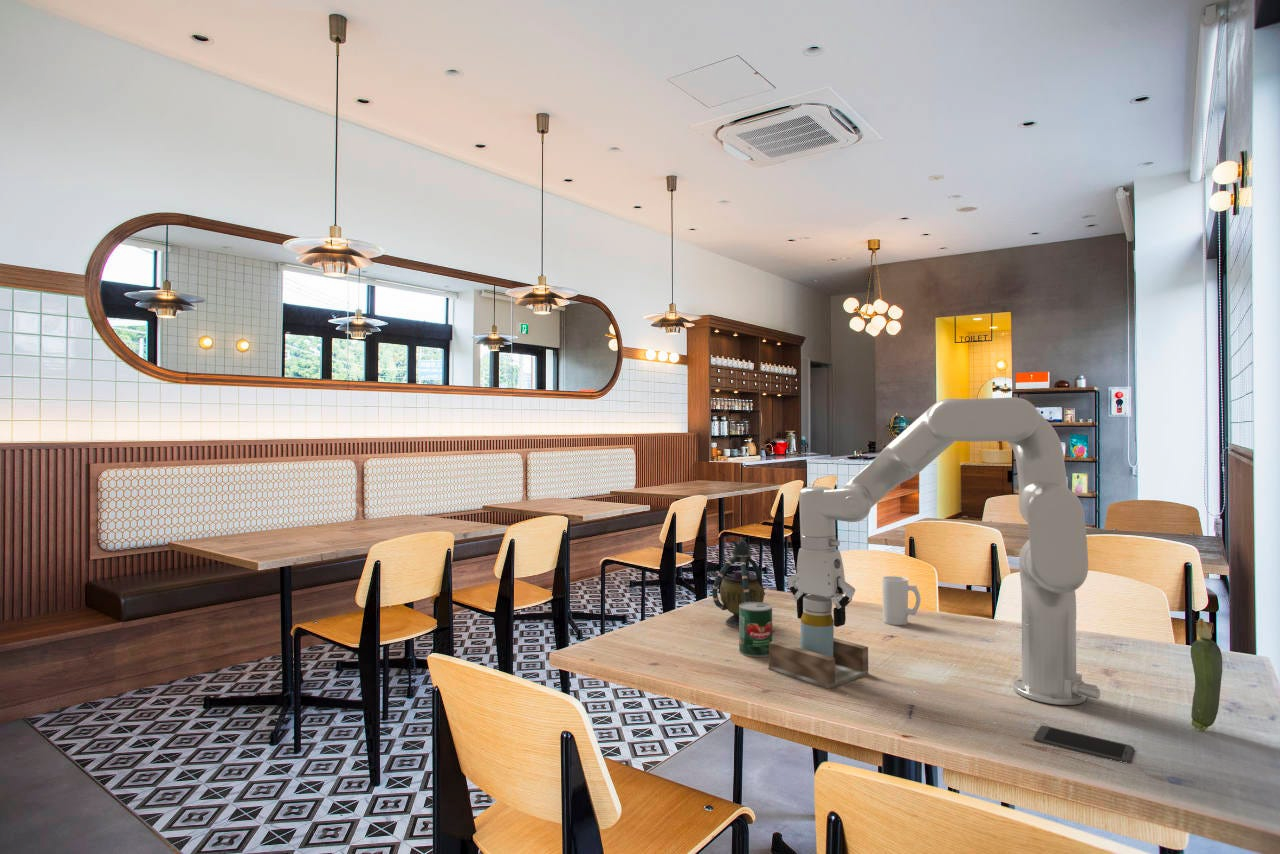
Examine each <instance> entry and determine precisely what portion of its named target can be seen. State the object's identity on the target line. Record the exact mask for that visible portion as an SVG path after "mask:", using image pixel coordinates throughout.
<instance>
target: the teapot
mask: <svg viewBox="0 0 1280 854" xmlns="http://www.w3.org/2000/svg"><path fill="white" fill-rule="evenodd" d="M730 542H731V543H733V544H734V548H733V550H732V552H731V553H732V557H730V558H729V559H728V560H727V561H726V562H725V564H724V565H723V566H722V568H721V569H720V570H719V572H718V573H717V576H716V577H715V580H714V583H713V585H712V589H711V595H712V599H713V603H714V605H715V606H716V607H717V608H719V609H721V610H722V611H726V610H727V611H728V612H729V613H730V614H733V615H731V616H729V617H728V619H726V620H725V621H724V622H725V625H726V626H727V627H730V628H734V629H739V605H740V604H742V603H745V602H762V603H764V599H765V596H766V592H765V588H764V584H763V577H762V572H761V571H760V567H759V565H758V564H757V563H756V561H755V560H753V559H752V558H751V557H752V551H751V548H750V546H749V544H748V543H747V542H746V541H745V539H743V538H741V539H740V540H738V541H737V542H736V541H735V540H731V541H730ZM735 563H740V570H736V571H734V573H729V568H730V567H731V566H732V565H733V564H735ZM746 563H750V564H751V565H752V567H753V569H754V571H755V574H751V573H750V572H749V571H748V570H747V564H746ZM721 580H722V581H721ZM719 585H720V586H719ZM718 589H719V595H720V600H721V601H720V600H719V595H718Z"/></svg>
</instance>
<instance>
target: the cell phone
mask: <svg viewBox="0 0 1280 854" xmlns="http://www.w3.org/2000/svg"><path fill="white" fill-rule="evenodd" d="M1032 741H1034V742H1037V743H1041V744H1045V745H1048V744H1049V746H1052V745H1053V746H1052V747H1056V746H1057V748H1060V749H1065V750H1068V751H1072V750H1073V751H1074V752H1078V753H1082V754H1084V755H1085V754H1086V755H1089V756H1093V755H1094V756H1093V757H1098V758H1101V759H1105V758H1106V759H1105V760H1109V759H1112V760H1111V761H1113V760H1116V761H1115V762H1117V761H1122V762H1127V763H1129V762H1130V761H1131V762H1132V760H1133V757H1132V756H1134V753H1135V749H1134V746H1133V745H1130V744H1126V743H1123V742H1117V741H1114V740H1109V739H1105V738H1100V737H1096V736H1093V735H1092V736H1091V735H1088V734H1087V735H1086V734H1083V733H1080V732H1079V733H1078V732H1073V731H1070V730H1065V729H1062V728H1056V727H1052V726H1047V725H1040V727H1039V728H1038V730H1037V731H1036V733H1035V734H1034V735H1033V738H1032ZM1073 751H1072V752H1073ZM1131 759H1132V760H1131ZM1122 762H1121V763H1122ZM1131 762H1130V763H1131ZM1127 763H1126V764H1127ZM1130 763H1129V764H1130Z"/></svg>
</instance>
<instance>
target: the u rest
mask: <svg viewBox="0 0 1280 854" xmlns="http://www.w3.org/2000/svg"><path fill="white" fill-rule="evenodd" d="M768 669H769V670H772V671H775V672H777V673H780V674H784V675H787V676H789V677H792V678H796V679H798V680H802V681H804V682H808V683H811V684H813V685H817V686H820V687H822V688H826V689H832V688H835V687H837V686H841V685H842V684H846V683H848V682H850V681H853V680H856V679H858V678H860V677H864V676H866V675H868V674H869V646H866V645H864V644H863V645H862V644H858V643H854V642H851V641H847V640H844V639H840V638H836V637H833V658H832V657H828V656H825V655H822V654H818V653H815V652H811V651H808V650H804V649H801V648H800V647H797V646H794V645H790V644H787V643H783V642H780V641H777V640H772V642H769V656H768Z"/></svg>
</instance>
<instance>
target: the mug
mask: <svg viewBox="0 0 1280 854" xmlns="http://www.w3.org/2000/svg"><path fill="white" fill-rule="evenodd" d="M881 580H882V581H881V583H882V584H881V585H882V586H881V587H882V589H881V590H882V592H881V593H882V619H883V623H884V624H888V625H890V626H906V625H907V624H908V621H909V620H908V617H909V615H912V616H914V615H916V614H917V612H918V610H919V608H920V605H921V595H920V591H919V589H918V588H917V587H918V586H917V585H916V584H911V585H909V579H908V577H902V576H899V575H898V576H895V575H892V576H891V575H886V576H882V577H881ZM909 591H911V592H913V593H914V595H915V599H916V600H915V604H914V607H913V608H909V605H908V604H909Z"/></svg>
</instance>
